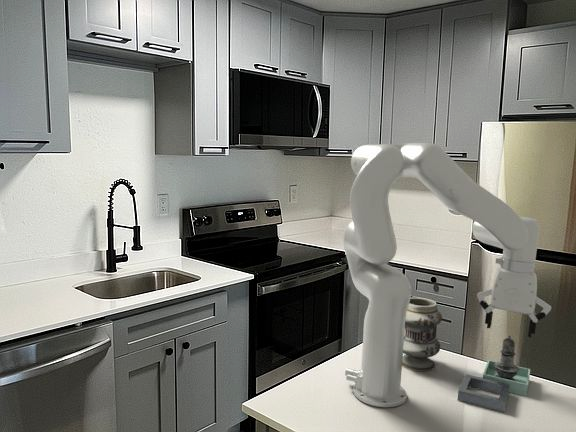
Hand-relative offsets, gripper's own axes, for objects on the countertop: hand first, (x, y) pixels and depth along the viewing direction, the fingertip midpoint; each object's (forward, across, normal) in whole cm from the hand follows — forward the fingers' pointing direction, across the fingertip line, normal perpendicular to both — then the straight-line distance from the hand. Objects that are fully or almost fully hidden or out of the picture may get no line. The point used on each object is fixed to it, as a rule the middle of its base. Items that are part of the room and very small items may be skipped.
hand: (508, 331), depth 127 cm
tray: (+14, +1, +1) cm, 14 cm away
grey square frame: (+14, -3, -11) cm, 18 cm away
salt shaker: (+13, +1, +1) cm, 13 cm away
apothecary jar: (+15, -22, -1) cm, 27 cm away
